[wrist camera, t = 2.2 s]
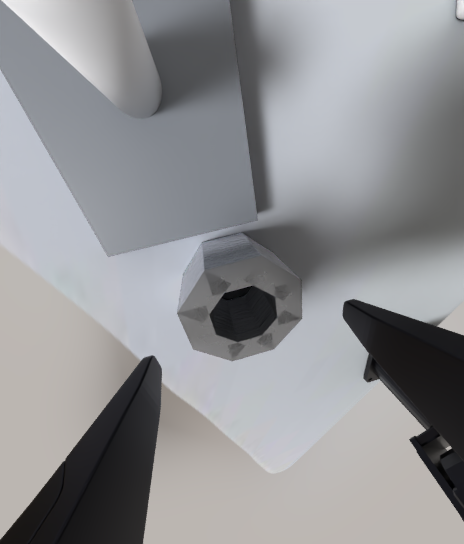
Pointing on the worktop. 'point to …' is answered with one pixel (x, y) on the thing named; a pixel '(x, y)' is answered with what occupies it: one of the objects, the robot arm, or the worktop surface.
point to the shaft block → (136, 112)
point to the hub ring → (243, 310)
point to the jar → (460, 9)
